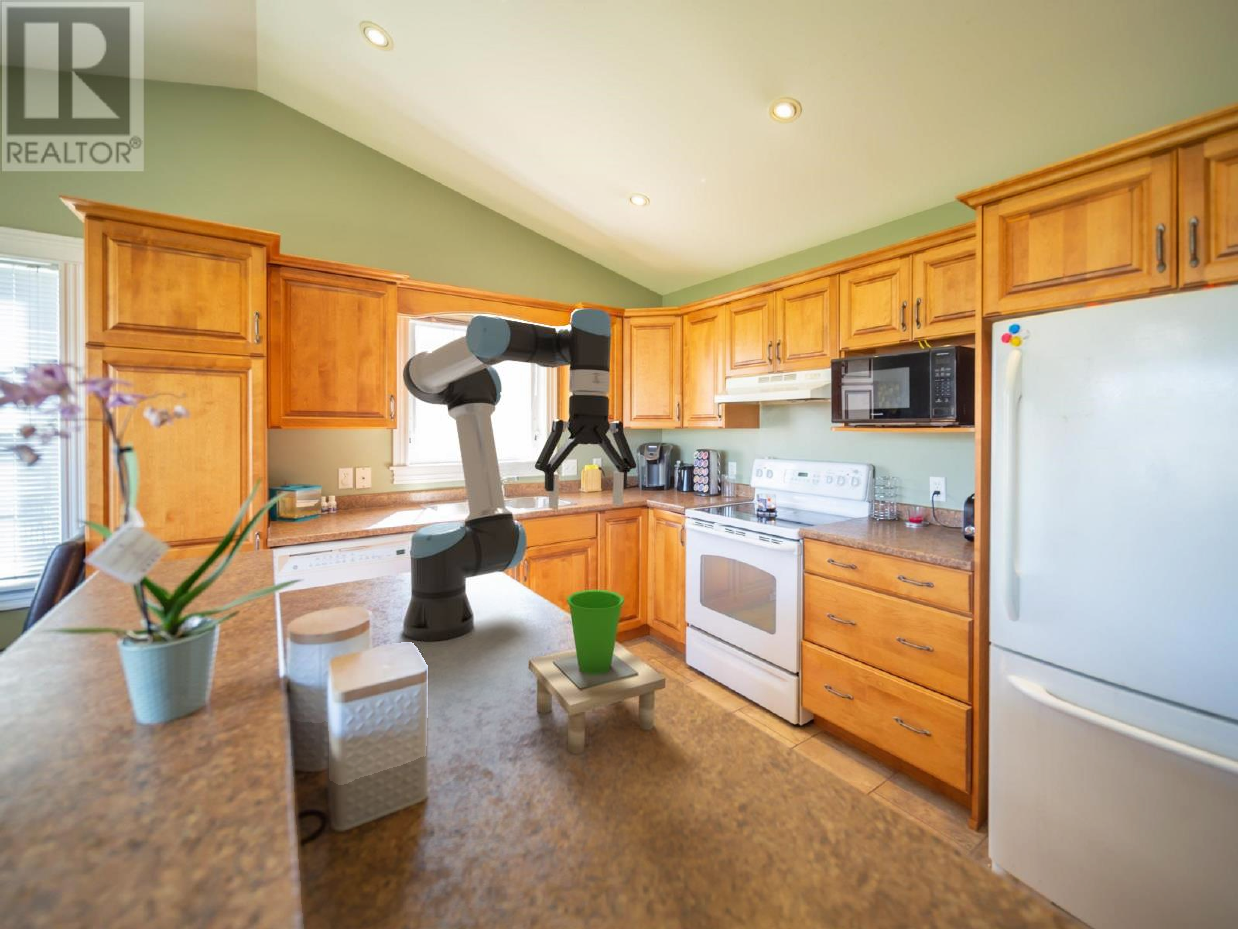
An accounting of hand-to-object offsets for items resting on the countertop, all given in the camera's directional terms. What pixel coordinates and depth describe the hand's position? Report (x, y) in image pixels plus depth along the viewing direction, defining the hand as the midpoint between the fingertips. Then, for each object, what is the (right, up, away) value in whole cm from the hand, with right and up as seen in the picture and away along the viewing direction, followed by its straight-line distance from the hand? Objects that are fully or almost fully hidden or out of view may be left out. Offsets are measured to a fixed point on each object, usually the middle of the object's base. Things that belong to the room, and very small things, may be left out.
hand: (586, 506), depth 98 cm
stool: (+2, -32, -16) cm, 36 cm away
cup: (+2, -24, -17) cm, 30 cm away
